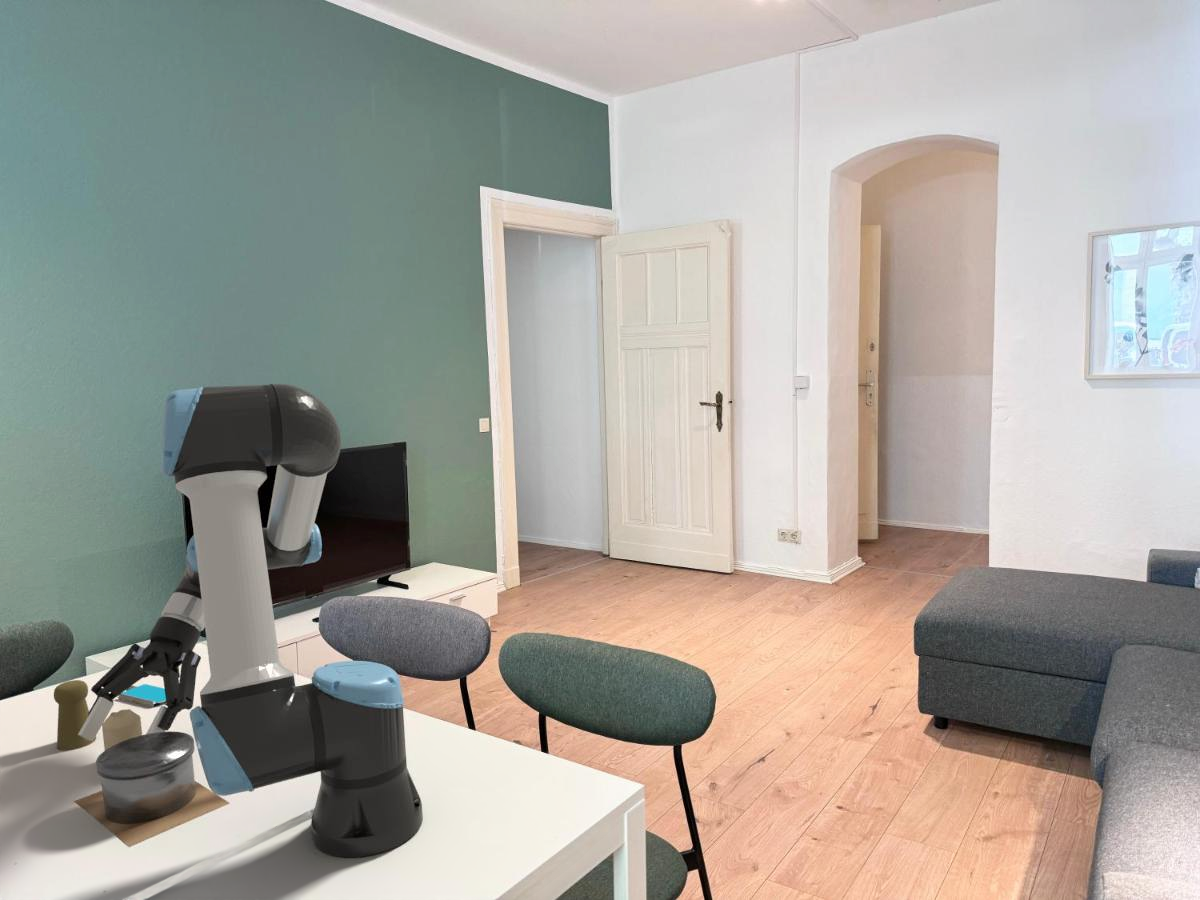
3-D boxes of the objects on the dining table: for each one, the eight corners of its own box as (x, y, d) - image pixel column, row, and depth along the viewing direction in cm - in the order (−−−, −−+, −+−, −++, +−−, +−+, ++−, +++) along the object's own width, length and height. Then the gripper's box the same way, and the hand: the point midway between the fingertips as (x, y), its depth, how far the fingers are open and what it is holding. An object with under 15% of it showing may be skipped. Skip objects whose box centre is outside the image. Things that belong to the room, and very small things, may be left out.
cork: (67, 753, 149) (60, 692, 148) (49, 745, 152) (42, 685, 151) (103, 739, 154) (96, 679, 153) (85, 732, 157) (78, 674, 156)
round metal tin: (214, 797, 129) (209, 746, 128) (123, 835, 119) (117, 780, 118) (175, 772, 137) (171, 724, 136) (87, 806, 127) (81, 755, 126)
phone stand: (219, 692, 175) (218, 684, 175) (166, 715, 165) (165, 707, 164) (155, 677, 184) (155, 670, 184) (101, 698, 174) (100, 691, 174)
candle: (129, 780, 138) (122, 720, 137) (99, 778, 139) (92, 718, 138) (153, 763, 144) (147, 706, 142) (124, 761, 145) (118, 704, 144)
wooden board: (230, 812, 127) (229, 802, 127) (130, 857, 117) (129, 846, 116) (170, 773, 140) (169, 764, 140) (75, 810, 129) (74, 800, 129)
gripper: (249, 640, 150) (189, 761, 138) (142, 628, 159) (76, 741, 147) (224, 620, 145) (159, 744, 133) (114, 609, 154) (43, 725, 141)
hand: (115, 743), depth 140 cm, fingers open, 13 cm apart
